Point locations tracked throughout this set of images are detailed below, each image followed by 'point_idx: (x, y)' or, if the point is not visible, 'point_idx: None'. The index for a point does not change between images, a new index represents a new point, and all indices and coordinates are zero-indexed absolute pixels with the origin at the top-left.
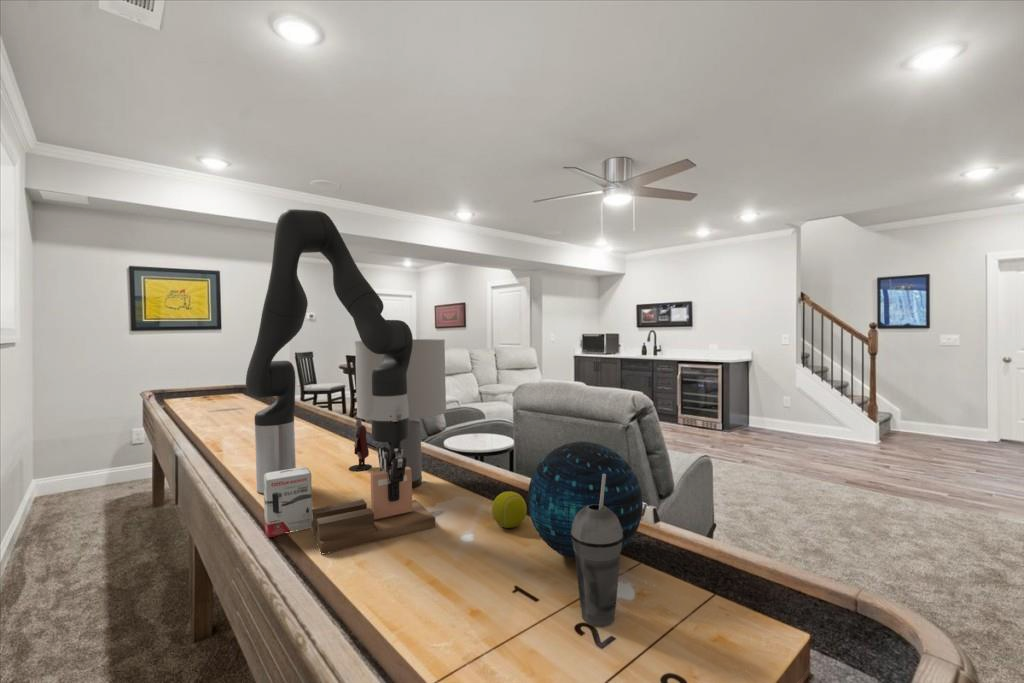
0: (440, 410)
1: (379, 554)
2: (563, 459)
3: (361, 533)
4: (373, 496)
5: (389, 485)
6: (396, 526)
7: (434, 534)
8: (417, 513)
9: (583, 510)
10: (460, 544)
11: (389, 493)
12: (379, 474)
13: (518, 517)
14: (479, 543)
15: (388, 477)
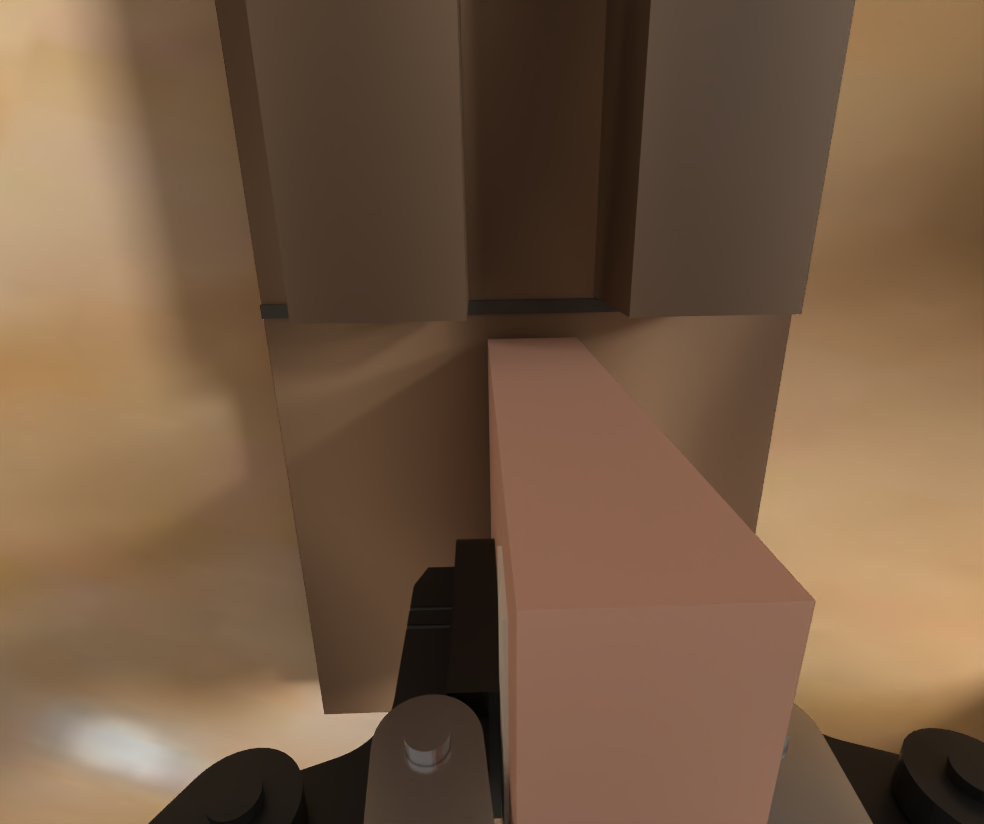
0: None
1: (57, 257)
2: None
3: (263, 169)
4: (502, 405)
5: (445, 685)
6: (287, 463)
7: (236, 628)
8: None
9: None
10: (42, 697)
11: (456, 597)
12: (521, 753)
13: None
14: (22, 769)
15: (394, 819)
